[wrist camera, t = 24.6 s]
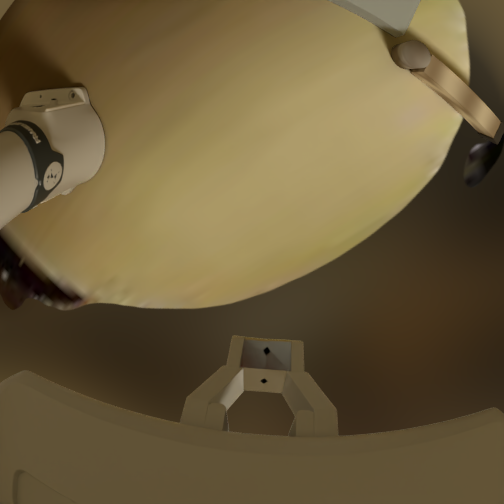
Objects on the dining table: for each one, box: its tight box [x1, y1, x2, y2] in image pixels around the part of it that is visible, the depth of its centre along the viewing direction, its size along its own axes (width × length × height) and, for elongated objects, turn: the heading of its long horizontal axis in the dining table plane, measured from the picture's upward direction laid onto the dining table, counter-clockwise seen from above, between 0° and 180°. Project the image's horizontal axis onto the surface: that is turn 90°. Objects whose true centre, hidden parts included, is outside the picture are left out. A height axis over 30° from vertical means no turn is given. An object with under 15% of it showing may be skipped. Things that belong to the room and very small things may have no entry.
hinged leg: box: [391, 40, 504, 144], centre depth 25 cm, size 19×4×4 cm, turn 67°
